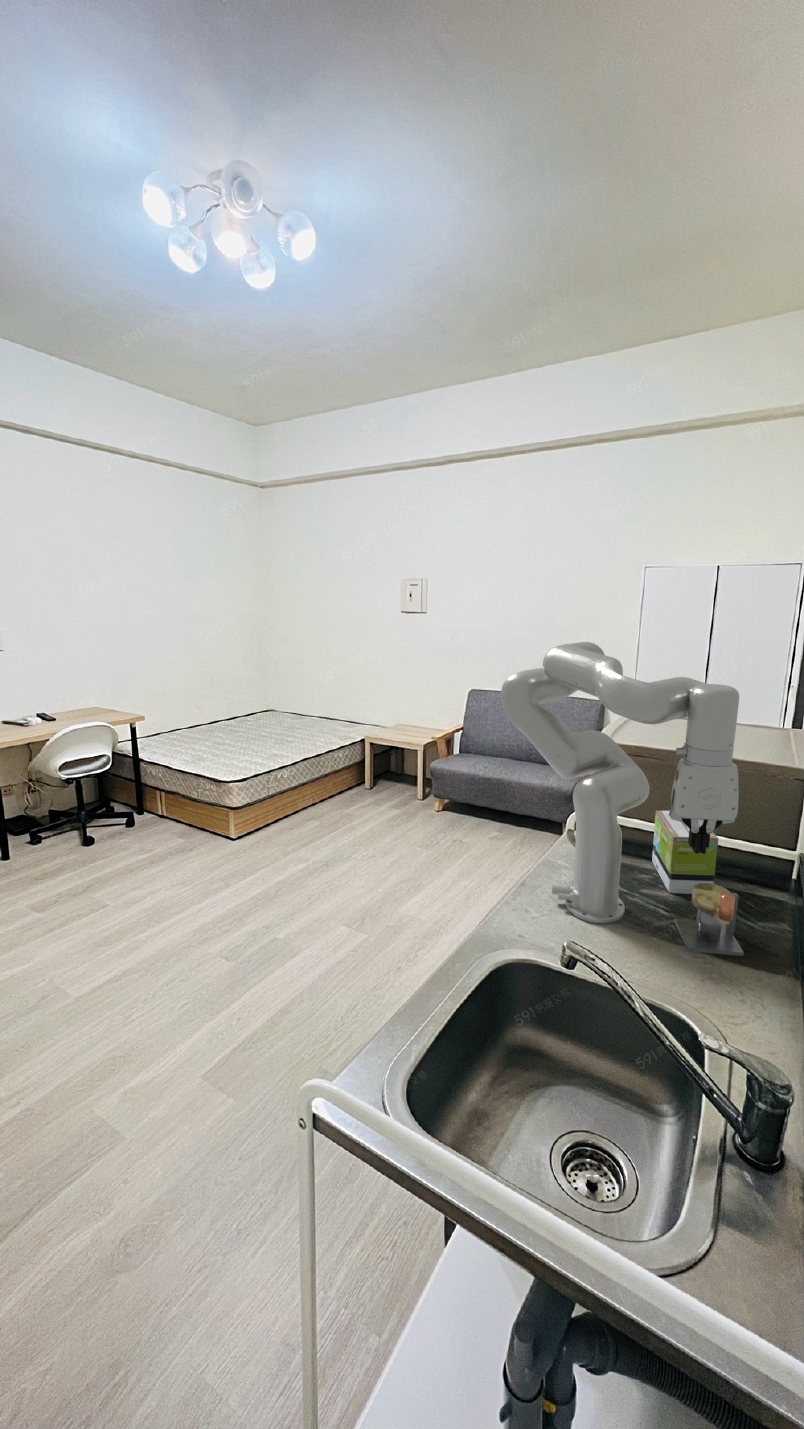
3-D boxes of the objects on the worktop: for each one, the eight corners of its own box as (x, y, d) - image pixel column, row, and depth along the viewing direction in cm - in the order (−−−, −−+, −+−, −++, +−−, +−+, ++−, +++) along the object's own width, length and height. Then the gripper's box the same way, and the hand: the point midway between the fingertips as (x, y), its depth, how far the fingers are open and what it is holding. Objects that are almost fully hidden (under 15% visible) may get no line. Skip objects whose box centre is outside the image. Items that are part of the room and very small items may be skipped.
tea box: (650, 862, 149) (654, 808, 145) (691, 864, 147) (697, 809, 144) (667, 893, 134) (673, 835, 131) (714, 896, 133) (721, 836, 129)
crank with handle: (687, 894, 120) (690, 865, 119) (724, 896, 119) (727, 867, 117) (705, 929, 109) (709, 897, 107) (746, 932, 107) (751, 900, 106)
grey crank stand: (687, 951, 114) (692, 909, 112) (674, 921, 124) (678, 882, 122) (744, 956, 112) (750, 913, 110) (726, 925, 122) (731, 886, 120)
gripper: (667, 760, 100) (659, 857, 104) (763, 763, 97) (750, 863, 102) (657, 747, 107) (649, 838, 111) (746, 749, 104) (734, 843, 109)
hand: (697, 850), depth 107 cm, fingers closed
